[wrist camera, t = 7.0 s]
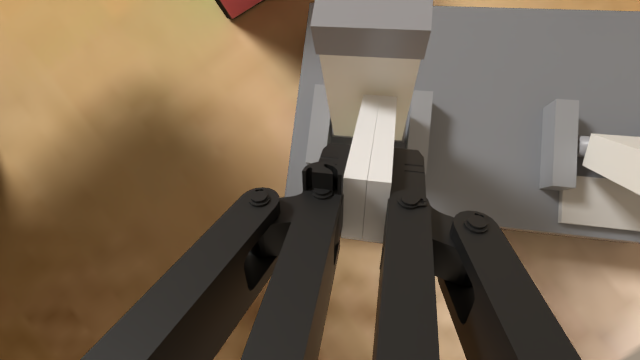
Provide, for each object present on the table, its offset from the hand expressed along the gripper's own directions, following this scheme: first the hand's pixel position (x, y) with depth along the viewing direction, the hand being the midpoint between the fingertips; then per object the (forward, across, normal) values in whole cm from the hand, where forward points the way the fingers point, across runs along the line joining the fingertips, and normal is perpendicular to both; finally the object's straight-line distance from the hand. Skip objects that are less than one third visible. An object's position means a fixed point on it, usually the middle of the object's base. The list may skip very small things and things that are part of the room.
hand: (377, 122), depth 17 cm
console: (+9, +5, -4) cm, 11 cm away
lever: (+4, -1, -3) cm, 5 cm away
